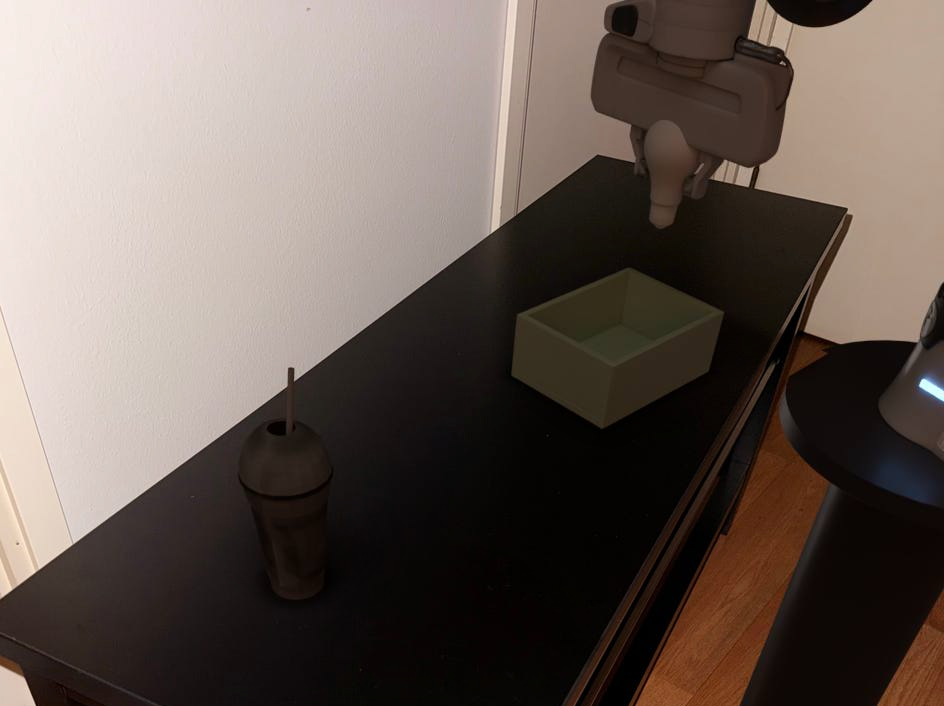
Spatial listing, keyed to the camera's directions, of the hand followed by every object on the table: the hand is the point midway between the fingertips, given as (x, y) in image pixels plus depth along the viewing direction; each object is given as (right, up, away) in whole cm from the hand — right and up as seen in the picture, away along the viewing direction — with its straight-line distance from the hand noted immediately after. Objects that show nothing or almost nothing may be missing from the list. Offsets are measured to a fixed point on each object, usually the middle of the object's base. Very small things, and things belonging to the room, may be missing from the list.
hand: (667, 186), depth 94 cm
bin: (-4, -15, +13) cm, 20 cm away
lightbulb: (0, -3, +3) cm, 4 cm away
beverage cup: (-35, -40, -13) cm, 55 cm away
